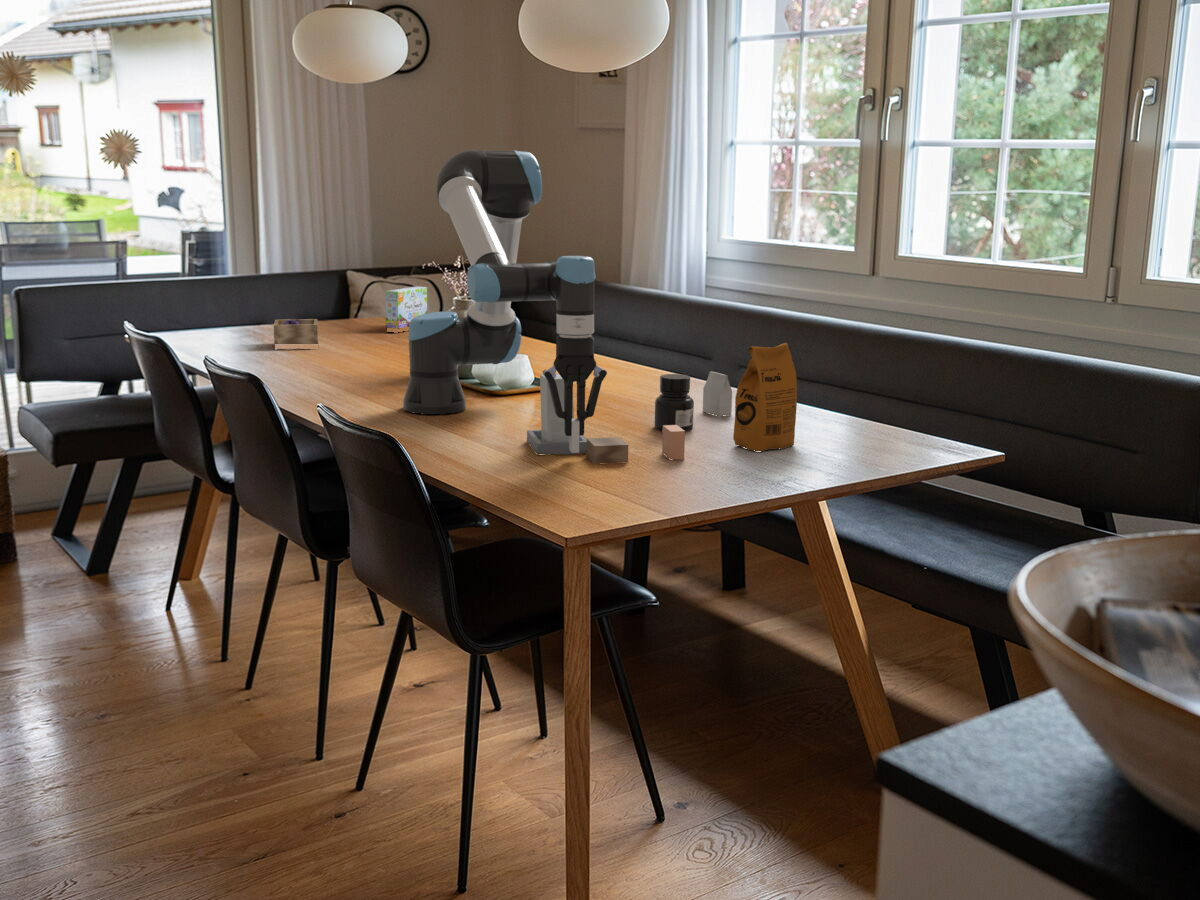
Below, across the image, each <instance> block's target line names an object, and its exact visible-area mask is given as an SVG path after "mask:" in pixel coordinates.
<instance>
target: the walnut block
mask: <svg viewBox="0 0 1200 900" xmlns="http://www.w3.org/2000/svg"><path fill="white" fill-rule="evenodd" d="M586 439H587V454H586V457H587V459H589V460H590V462H591V463H592V464H593V463H594V464H593V465H601V464H600V463H614V464H618V463H617V462H628V463H629V444H628V442H626V441H625V440H624V439H623V438H622V437H619V436H618V437H617V436H615V437H613V436H612V437H592V438H591V437H590V438H587V437H586Z"/></svg>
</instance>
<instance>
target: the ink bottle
mask: <svg viewBox="0 0 1200 900" xmlns="http://www.w3.org/2000/svg"><path fill="white" fill-rule="evenodd" d="M659 389H660V390H659V393H660V394H659V396H657V398H655V400H654V428H656V429H658V430H660V429H661V431H663V425H677V426H679V427H680V428H682V429H683V430H686V431H689V430H692V428H693V427H694V412H695V410H694V409H695V407H694V406H695V402H694V399H693V398H692V397H691V396H690V395H689V393H690V390H691V376H690V375H687V374H682V373H681V374H680V373H667V374H662V375H660V376H659Z"/></svg>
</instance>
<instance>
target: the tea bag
mask: <svg viewBox="0 0 1200 900" xmlns="http://www.w3.org/2000/svg"><path fill="white" fill-rule="evenodd" d="M708 373H709V374H708V377H707V379H706V382H705V384H704V386H703V389H702V390H703V392H702V393H703V394H702V395H703V396H702V413H704V412H706V413H705V414H707V413H710V414H709V415H711V414H714V415H717V416H723V415H731V416H732V408H733V406H732V405H733V391H732V388H731V383H730V381H729V377H728V375H727V374H723V373H720V372H715V371H709V372H708ZM714 415H713V416H714ZM717 416H716V417H717Z"/></svg>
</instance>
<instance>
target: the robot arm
mask: <svg viewBox="0 0 1200 900" xmlns="http://www.w3.org/2000/svg"><path fill="white" fill-rule="evenodd" d="M542 179H543V178H542V174H541V169H540V165H539V163H538V160H537V158H536V156H534V155H533V154H532V153H531V152H529V151H520V150H516V149H513V150H492V149H491V150H483V149H480V150H478V149H477V150H476V149H467V150H466V149H465V150H463V151H460V152H457V153H455V154H454V155H452V156H451V157H450V158H448V159H447V160H446V161H445V162H444V163H443V165H442V166H441V168H440V170H439V172H438V173H437V177H436V179H435V194H436V198H437V200H438V204H439V205H440V208H441V209H442V210H443V211H444V212H446V213H447V214H449V217H450V219H451V222H452V224H453V226H454V228H455V231H456V234H457V235H458V238H459V240H460V242H461V246H462V247H463V251H464V252H465V255H466V258H467V259H468V262H469V264H470V266H469V268H468V270H467V275H466V285H467V289H468V290H467V291H468V292H467V293H468V296H469V297H470V299H471V300H472V301H474V302H473V303H472V304H470V305H469V306H468V308H467V313H466V316H463V317H461V316H460V317H459V316H458V313H457V312H455V311H449V310H448V311H447V310H446V311H436V312H429V313H428V312H427V314H423V315H419V316H417V317H414V318H413V319H412V320H411V321H410V324H409V331H408V337H407V339H408V348H409V349H408V352H409V354H408V355H409V356H408V357H409V380H408V384H407V387H406V389H405V390H406V391H405V394H404V396H403V401H402V402H403V405H402V407H403V411H404V410H406V411H409V412H414V413H413V414H415V413H423V414H422V415H425V414H440V415H447V414H446V413H451V414H456V413H455V412H457V413H461V412H463V411H465V410H466V407H467V403H466V402H467V400H466V397H465V394H464V391H463V388H462V385H461V382H460V379H459V366H469V365H471V366H472V365H473V366H474V365H489V364H492V365H498V364H503V363H505V364H506V363H510V362H512V361H513V360H514V359H515V358H516V357H517V355H518V353H519V351H520V347H521V344H522V325H521V321H520V319H519V318H518V317H517V316H516V313H515V312H516V311H514V309H513V308H511V307H512V306H511V304H512V302H534V301H536V302H537V301H538V302H539V301H540V302H543V301H556V303H555V304H556V310H555V312H556V319H555V320H556V322H555V323H556V326H555V329H556V330H555V332H556V334H558V335H557V336H556V338H555V339H556V340H555V359H554V361H553V365H552V366H551V367H549V368H548V369H543V370H542V375H544V376H545V378H546V379H547V381H548V384H549V389H550V393H551V397H552V401H553V405H554V409H555V413H556V415H557V416H558V417H559V418H563V419H564V420H565V431H564V432H565V435H566V436H569V450H570V451H571V452H572V453H579V436H581V435H583V436H584V434H585V421H586V419H588V418H592V417H594V414H595V410H596V407H597V402H598V398H599V394H600V391H601V387H602V383H603V381H604V379H605V377H607V374H608V371H607V370H605V369H604V368H603V367H599V366H598V365H597V362H596V359H595V338H594V336H593V334H594V333H595V296H596V295H595V294H596V293H595V292H596V291H595V287H596V286H595V285H596V278H597V277H596V269H595V267H596V265H595V260H594V258H593V257H591V256H587V255H563V256H559V257H558V258H557V260H556V261H546V262H536V263H535V262H534V263H529V262H528V263H521V262H520V263H517V261H518V260H517V259H518V252H519V246H520V238H521V230H522V222H523V220H524V219H526V218H527V217H528V216H529V215H530V214H531V206H532V205H537V204H539V203H540V201H541V199H542V195H543V180H542ZM556 372H557V373H556ZM592 373H593V376H594V377H593V379H592V380H593V381H592V384H591V387H590V392H589V396H588V400H587V404H586V385H587V380H588V378H589V377H590V376H591V374H592ZM556 374H560V376H561V377H562V379H563V380H564V412H563V410H562V406H561V402H560V398H559V394H558V389H557V385H556V382H555V379H554V378H555V377H556ZM575 382H576V418H575V417H574V418H572V394H573V395H574V383H575ZM406 411H405V412H406ZM409 412H408V413H409Z"/></svg>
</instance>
